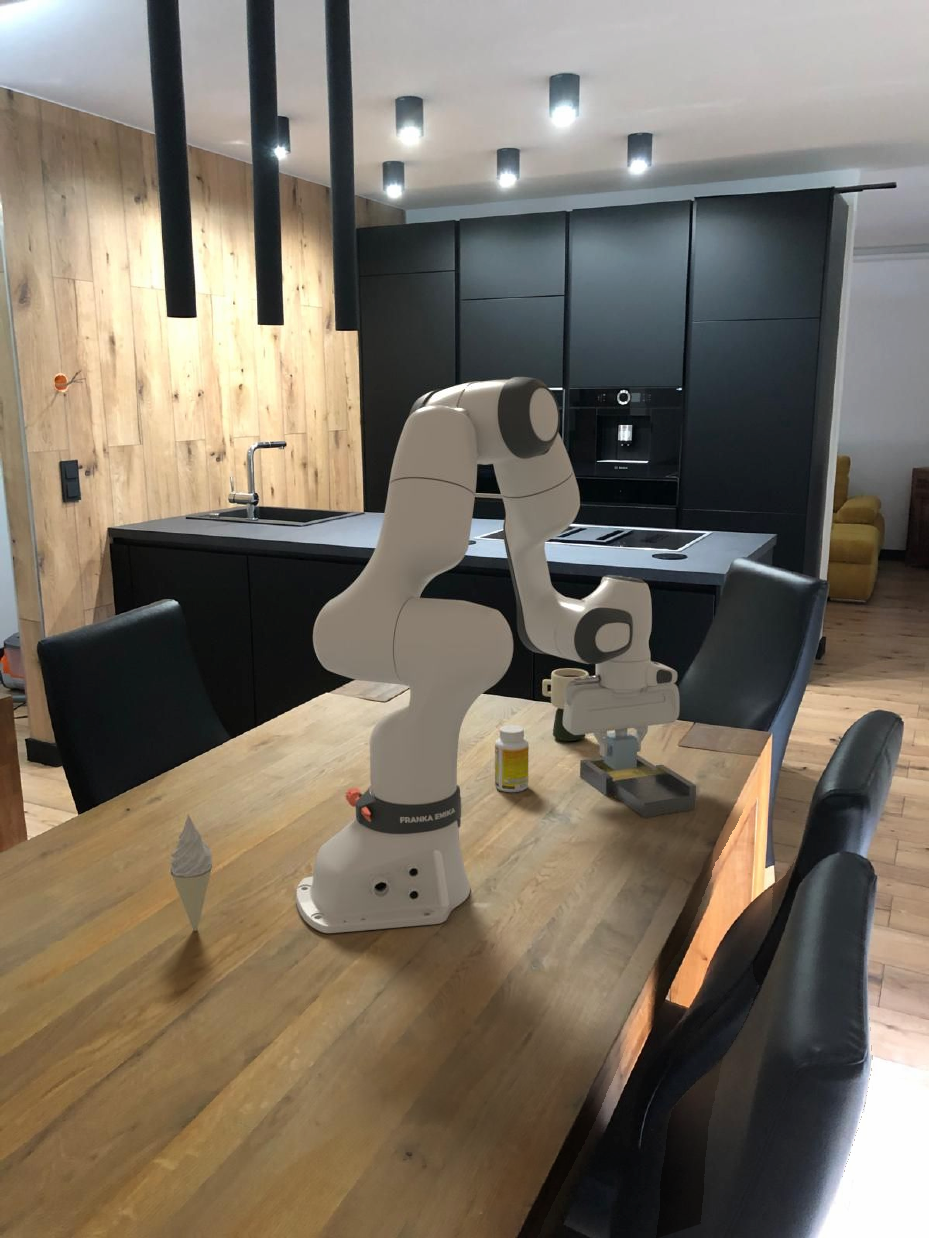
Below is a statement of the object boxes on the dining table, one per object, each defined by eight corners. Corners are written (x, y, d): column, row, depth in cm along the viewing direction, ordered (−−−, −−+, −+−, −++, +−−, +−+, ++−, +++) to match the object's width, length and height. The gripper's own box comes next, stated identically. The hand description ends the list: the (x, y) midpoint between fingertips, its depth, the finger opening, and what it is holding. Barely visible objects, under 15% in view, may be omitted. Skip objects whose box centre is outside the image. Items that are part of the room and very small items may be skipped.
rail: (636, 818, 153) (637, 794, 152) (580, 776, 170) (580, 754, 170) (695, 809, 156) (696, 785, 156) (633, 768, 174) (634, 747, 173)
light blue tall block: (615, 770, 164) (616, 732, 163) (603, 762, 168) (604, 725, 166) (636, 767, 165) (638, 729, 164) (624, 759, 169) (626, 722, 168)
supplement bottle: (535, 788, 166) (535, 729, 163) (510, 796, 162) (510, 736, 160) (512, 778, 170) (513, 721, 168) (487, 786, 166) (487, 728, 164)
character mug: (601, 736, 191) (603, 671, 189) (591, 748, 185) (593, 680, 182) (547, 729, 195) (548, 665, 193) (535, 740, 189) (536, 674, 186)
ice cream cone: (196, 944, 118) (188, 825, 114) (164, 934, 120) (156, 817, 117) (225, 925, 122) (218, 810, 119) (194, 915, 124) (187, 802, 121)
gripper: (574, 683, 157) (572, 767, 160) (686, 671, 164) (682, 751, 167) (556, 674, 163) (555, 754, 165) (665, 662, 170) (662, 740, 172)
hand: (620, 753), depth 166 cm, fingers closed on light blue tall block, 4 cm apart
